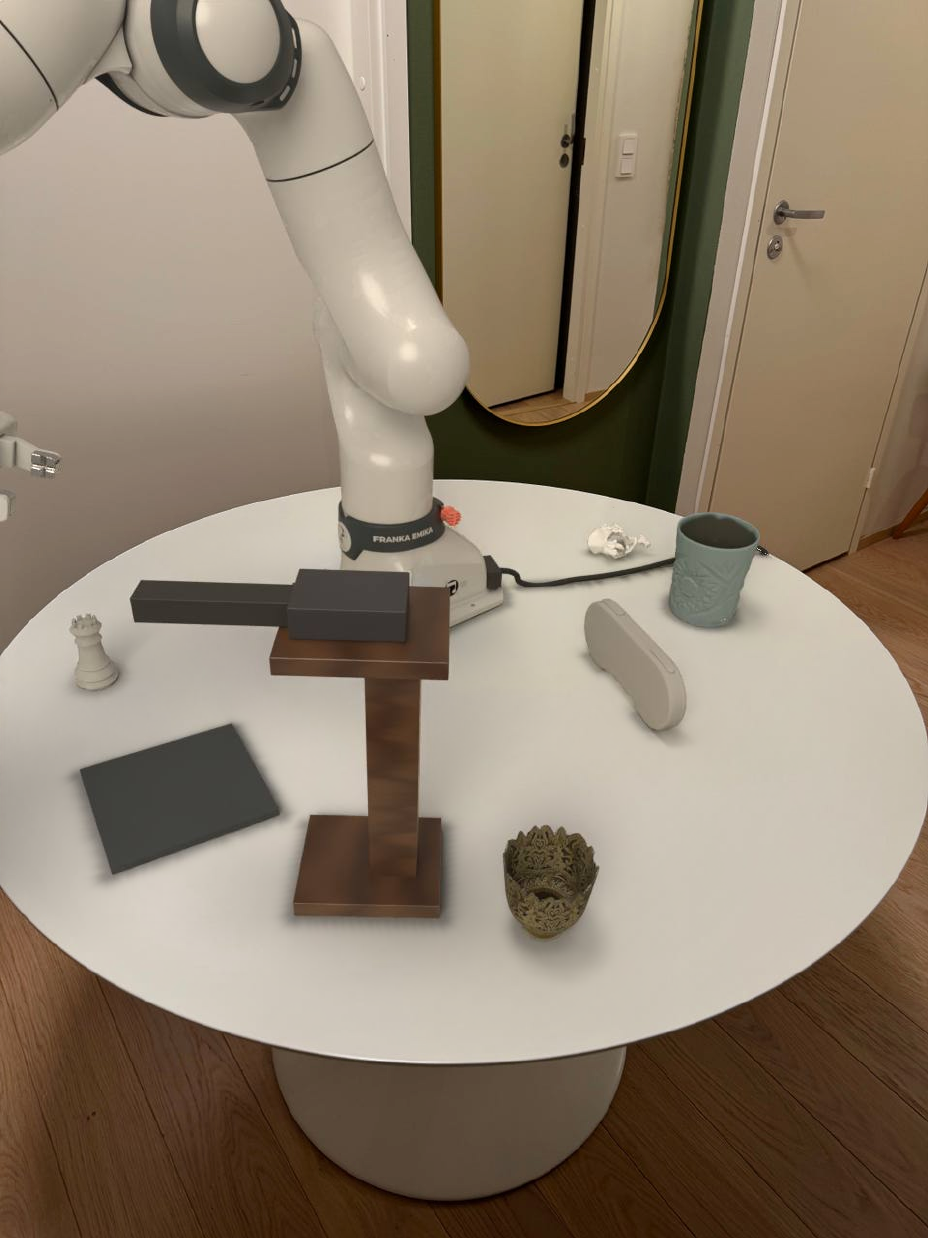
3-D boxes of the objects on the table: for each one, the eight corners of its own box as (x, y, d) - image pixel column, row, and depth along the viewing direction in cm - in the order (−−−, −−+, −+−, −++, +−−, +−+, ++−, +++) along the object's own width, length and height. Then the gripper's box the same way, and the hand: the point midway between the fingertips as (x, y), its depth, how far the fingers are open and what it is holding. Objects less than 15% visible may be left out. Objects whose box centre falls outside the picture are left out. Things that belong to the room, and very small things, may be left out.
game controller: (681, 741, 93) (695, 678, 88) (662, 745, 92) (676, 682, 87) (596, 642, 108) (605, 584, 103) (580, 645, 107) (587, 587, 103)
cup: (492, 891, 75) (498, 824, 71) (577, 887, 76) (587, 821, 71) (503, 967, 69) (510, 899, 64) (595, 962, 69) (608, 895, 65)
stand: (441, 829, 81) (450, 586, 67) (439, 918, 72) (449, 663, 58) (310, 826, 80) (292, 581, 66) (293, 915, 72) (268, 657, 58)
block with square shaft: (409, 601, 65) (409, 571, 63) (405, 642, 60) (406, 612, 59) (151, 593, 64) (145, 563, 63) (127, 634, 60) (120, 603, 58)
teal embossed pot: (730, 593, 119) (749, 513, 113) (748, 634, 111) (770, 550, 104) (656, 589, 119) (671, 509, 113) (668, 630, 111) (685, 546, 104)
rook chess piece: (105, 695, 95) (91, 634, 91) (68, 688, 96) (52, 627, 92) (126, 671, 99) (114, 611, 95) (90, 665, 100) (76, 606, 95)
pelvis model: (613, 546, 122) (583, 523, 126) (608, 571, 124) (578, 548, 129) (655, 532, 125) (625, 511, 130) (649, 557, 128) (619, 535, 132)
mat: (232, 728, 91) (231, 723, 91) (279, 814, 81) (279, 808, 81) (81, 775, 85) (79, 769, 84) (112, 874, 75) (110, 868, 74)
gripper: (-277, 439, 51) (-23, 489, 53) (-101, 371, 69) (82, 411, 71) (-266, 539, 53) (-24, 582, 56) (-99, 448, 71) (77, 483, 74)
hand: (36, 485), depth 64 cm, fingers open, 8 cm apart
